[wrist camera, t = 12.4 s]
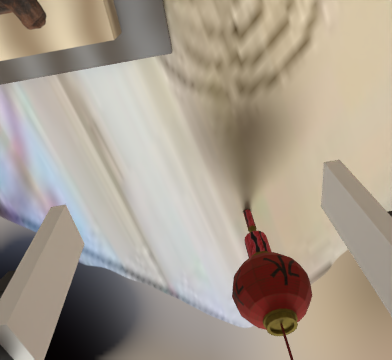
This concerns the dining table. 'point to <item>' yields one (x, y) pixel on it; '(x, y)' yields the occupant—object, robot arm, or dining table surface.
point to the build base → (104, 53)
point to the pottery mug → (25, 12)
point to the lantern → (270, 286)
